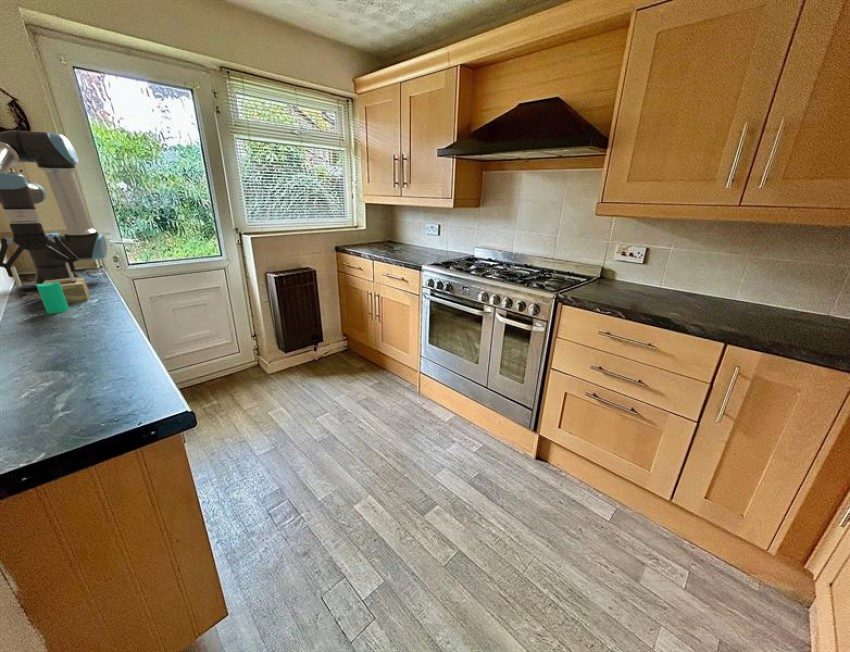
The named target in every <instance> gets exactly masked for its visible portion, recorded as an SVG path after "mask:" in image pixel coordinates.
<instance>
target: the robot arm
mask: <svg viewBox="0 0 850 652" xmlns="http://www.w3.org/2000/svg"><path fill="white" fill-rule="evenodd" d="M18 163H35V164H36V165H37V168H38V169H40V170H41V171H43V172H44V173H45V175H46V178H47V181H48V183H49V186H50V189H51V191H52V193H53V197H54V199H55V202H56V205H57V207H58V209H59V212H60V215H61V218H62V221H63V223H64V226H65V228H66V229H65V230H64V231H63V235H61V233H60V232H49V233H45V230H44V227H43V225H42V223H41V222H40V221H41V220H40V216H39V213H38V210H37V207H36V206H35V205H37V204H40V203H42V202H44V201H45V200H46V199H47V192H46V190H45V189H44V187H43V186H42V185H40V184H38V183H36V182H33V181H30V180H26V177H25V176H24V175H23V174H20V173H8V172H9V171H10V169H11V167H12V166H15V165H18ZM78 164H79V159H78V153H77V152H76V150H75V148H74V147H73V145H72V143H71V142H70V139H68V138H67V137H66V136H64V135H63V134H60V133H55V132H54V133H53V132H50V131H49V132H47V131H46V132H44V131H43V132H42V131H28V130H17V129H13V130H5V131H1V132H0V205H1V206H2V210H3V213H4V215H5V218H6V220H7V222H10V223H9V228H10V230H11V233H12V235H13V237H12V238H9V237H8V238H7V237H1V238H0V244H1V247H0V268H4V269H5V271H6V272H7V275H8V277H10V278H14V281H15V284H16V286H17V287H19V288H20V287H21V286H22V285H23V283H22V281H21V279H20V276H19V274H18V271H17V268H16V266H12V265H13V264H14V263H15V261H16V260H17V259H18V258H19V256H21V254H22V253H23V251H24V250H25V251H28V254H29V256H30V259H31V261H32V263H33V266H34V268H35V274H34V275H35V277H34V284H35V286H36V285H37V284H43V282H44V281H47V280H57V279H68V278H71V281H74V280H75V279H74V278H78V277H80V275H78V273H77V272H76V267H75V264H74V263H75V262H79V261H80V262H81V261H98V260H103V259H105V258H106V256H107V254H108V253H107V251H108V250H107V249H108V248H107V247H108V246H107V240H106V238H105V236H104V234H100V233H99V232H98V230H97V229H95V228H93V227H92V225H91V222H90V219H89V216H88V213H87V210H86V208H85V204H84V202H83V199H82V196H81V193H80V191H79V187H78V184H77V181H76V179H75V176H74V171H75V170H76V168H77V167H76V165H78ZM12 243H14V244H16V245H17V246H18V247H17V248H16V250H15V251H14V253H13V254H12V255H11V257H9V259H8V260H7V262H4V261H5V257H6V255H7V252H8V248H9V246H10V245H12Z"/></svg>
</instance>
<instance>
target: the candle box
mask: <svg viewBox="0 0 850 652" xmlns="http://www.w3.org/2000/svg"><path fill="white" fill-rule="evenodd" d="M74 279H75V280H74V281H71V278H68V279H57V280H47V281H48V283H54V282H60V285H61V288H62V291H63V293H64V296H65V299H66V302H67V304H68V305H69V304H75V303H82V302H88V301H89V297H90V291H89V288H88V286H87V285H88V284H87V281H86V279H85V277H84V276H81V277H80V276H79V277H78V278H74ZM47 281H44V282H43V283H47Z"/></svg>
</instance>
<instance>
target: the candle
mask: <svg viewBox="0 0 850 652" xmlns="http://www.w3.org/2000/svg"><path fill="white" fill-rule="evenodd" d="M35 286H36V289H37V291H38V294H39V296H40V299H41V301H42V304H43V307H44V309H45V312H46V314H59V313H64V312H67V311H70V307H69V303H68V304H67V302H66V299H65V296H64V293H63V291H62V288H61V285H60V282H54V283H48V281H47V283H43V284H37V285H36V284H35Z"/></svg>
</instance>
